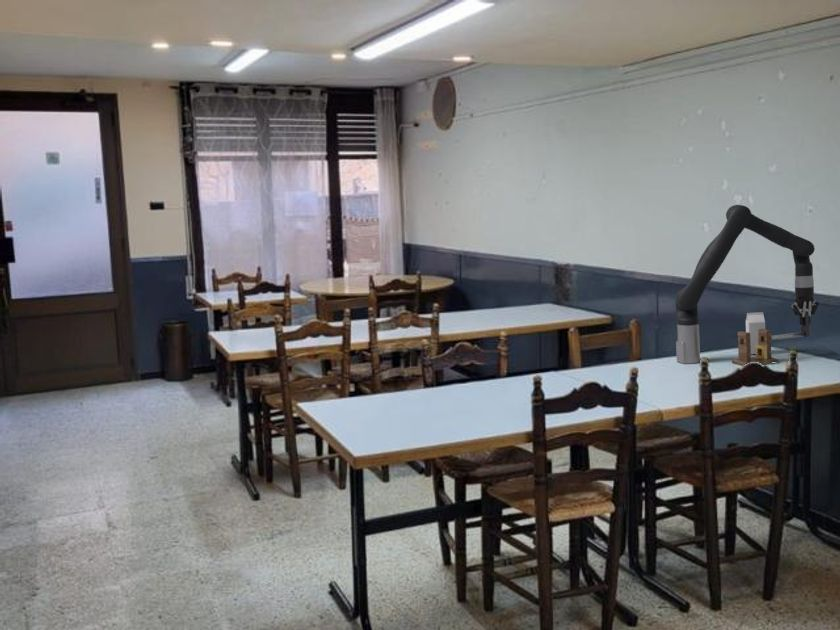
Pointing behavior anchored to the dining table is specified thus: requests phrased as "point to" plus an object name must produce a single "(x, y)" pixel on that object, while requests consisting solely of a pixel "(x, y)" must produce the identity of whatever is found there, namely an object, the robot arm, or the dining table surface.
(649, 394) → the dining table surface
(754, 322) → the milk carton
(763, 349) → the spacer
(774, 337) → the grey l-shaped piece
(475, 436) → the dining table surface
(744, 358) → the stand
